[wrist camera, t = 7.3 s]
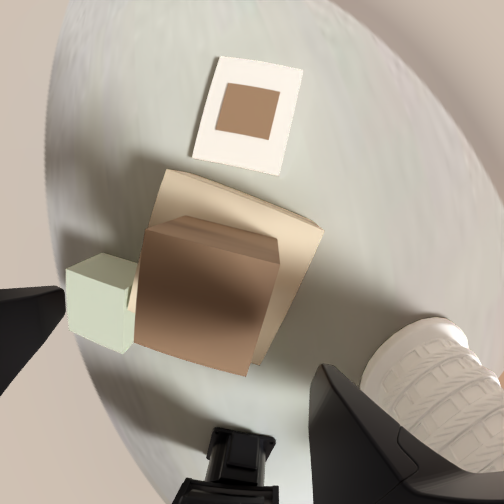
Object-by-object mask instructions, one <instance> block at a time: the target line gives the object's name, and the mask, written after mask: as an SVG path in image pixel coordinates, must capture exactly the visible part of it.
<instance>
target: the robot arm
mask: <svg viewBox="0 0 504 504" xmlns="http://www.w3.org/2000/svg"><path fill="white" fill-rule="evenodd" d="M65 312H66V306H65V292H64V290H63V289H62V288H60V287H57V286H41V287H27V288H12V289H0V396H1V395H2V394H3V392H4V391H5V390H6V388H7V387H8V386H9V384H10V383H11V382H12V381H13V379H14V378H15V377H16V376H17V374H18V373H19V372H20V371H21V369H22V368H23V367H24V366H25V365H26V363H27V362H28V361H29V360H30V359H31V358H32V356H33V355H34V354H35V353H36V352H37V351H38V349H39V348H40V347H41V346H42V345H43V344H44V342H45V341H46V340H47V338H48V337H49V335H50V334H51V333H52V331H53V330H54V329H55V327H56V326H57V324H58V323H59V322H60V321H61V319H62V318H63V317H64V315H65ZM308 428H309V443H310V455H311V469H312V485H313V503H314V504H504V471H498V472H488V473H472V472H468V471H465V470H463V469H461V468H459V467H458V466H456V465H455V464H453V463H452V462H450V461H448V460H447V459H445V458H444V457H442V456H441V455H439V454H438V453H436V452H435V451H434V450H432V449H431V448H429V447H428V446H426V445H425V444H424V443H422V442H421V441H420V440H418V439H417V438H416V437H415V436H413V435H412V434H411V433H410V432H408V431H407V430H406V429H405V428H404V427H403V426H400V424H399V423H398V422H397V421H396V420H394V419H393V418H392V417H391V416H390V415H389V414H387V413H386V412H385V411H384V410H383V409H382V408H381V407H379V406H378V405H377V404H376V403H375V402H374V401H373V400H371V399H370V398H369V397H368V396H367V395H366V394H365V393H363V392H362V391H361V390H360V389H359V388H358V387H357V386H356V385H354V384H353V383H352V382H351V381H350V380H349V379H348V378H347V377H346V376H344V375H343V374H342V373H341V372H340V371H339V370H338V369H337V368H336V367H335V366H333V365H329V364H321V365H320V366H319V367H318V369H317V371H316V374H315V376H314V378H313V380H312V383H311V386H310V399H309V427H308ZM275 444H276V440H275V439H274V438H270V437H263V436H257V435H252V434H246V433H241V432H236V431H231V430H227V429H222V428H214V429H213V433H212V437H211V441H210V445H209V449H208V453H207V457H206V458H207V459H208V460H210V461H209V465H208V469H207V473H206V477H205V481H200V480H193V479H192V478H186V479H185V481H184V483H182V485H181V487H180V489H179V491H178V493H177V495H176V497H175V499H174V501H173V503H172V504H279V486H264V476H265V462H266V460H267V459H268V457H269V455H270V453H271V451H272V450H273V448H274V446H275Z"/></svg>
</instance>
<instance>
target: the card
mask: <svg viewBox="0 0 504 504" xmlns="http://www.w3.org/2000/svg"><path fill="white" fill-rule="evenodd" d="M303 71H304V70H300V69H296V68H292V67H287V66H282V65H277V64H272V63H267V62H261V61H255V60H248V59H241V58H233V57H224V56H220V58H219V61H218V64H217V67H216V70H215V73H214V77H213V80H212V83H211V87H210V90H209V93H208V97H207V100H206V104H205V108H204V111H203V115H202V119H201V123H200V126H199V130H198V134H197V138H196V142H195V147H194V151H193V155H192V158H193V159H198V160H204V161H209V162H215V163H220V164H225V165H230V166H235V167H240V168H244V169H249V170H253V171H258V172H262V173H267V174H271V175H275V176H279V174H280V170H281V166H282V161H283V157H284V153H285V149H286V144H287V140H288V136H289V132H290V127H291V123H292V119H293V114H294V110H295V106H296V101H297V97H298V93H299V88H300V84H301V80H302V75H303Z"/></svg>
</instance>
